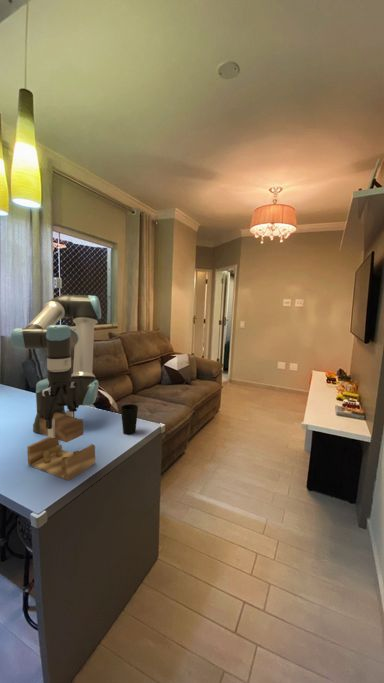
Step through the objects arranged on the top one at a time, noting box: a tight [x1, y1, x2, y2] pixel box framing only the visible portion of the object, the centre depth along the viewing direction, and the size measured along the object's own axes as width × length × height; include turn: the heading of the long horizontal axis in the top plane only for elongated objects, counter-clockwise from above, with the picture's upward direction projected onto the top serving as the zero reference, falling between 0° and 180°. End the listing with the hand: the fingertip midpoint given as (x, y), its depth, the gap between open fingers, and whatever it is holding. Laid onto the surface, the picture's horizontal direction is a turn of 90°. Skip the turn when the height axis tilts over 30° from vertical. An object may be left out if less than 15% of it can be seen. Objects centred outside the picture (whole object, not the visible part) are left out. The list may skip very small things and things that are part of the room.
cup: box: [120, 403, 139, 436], centre depth 130 cm, size 8×8×12 cm
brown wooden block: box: [39, 412, 84, 443], centre depth 101 cm, size 14×7×6 cm, turn 62°
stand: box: [26, 436, 96, 481], centre depth 103 cm, size 20×12×7 cm, turn 65°
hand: (61, 432), depth 102 cm, fingers closed on brown wooden block, 7 cm apart
